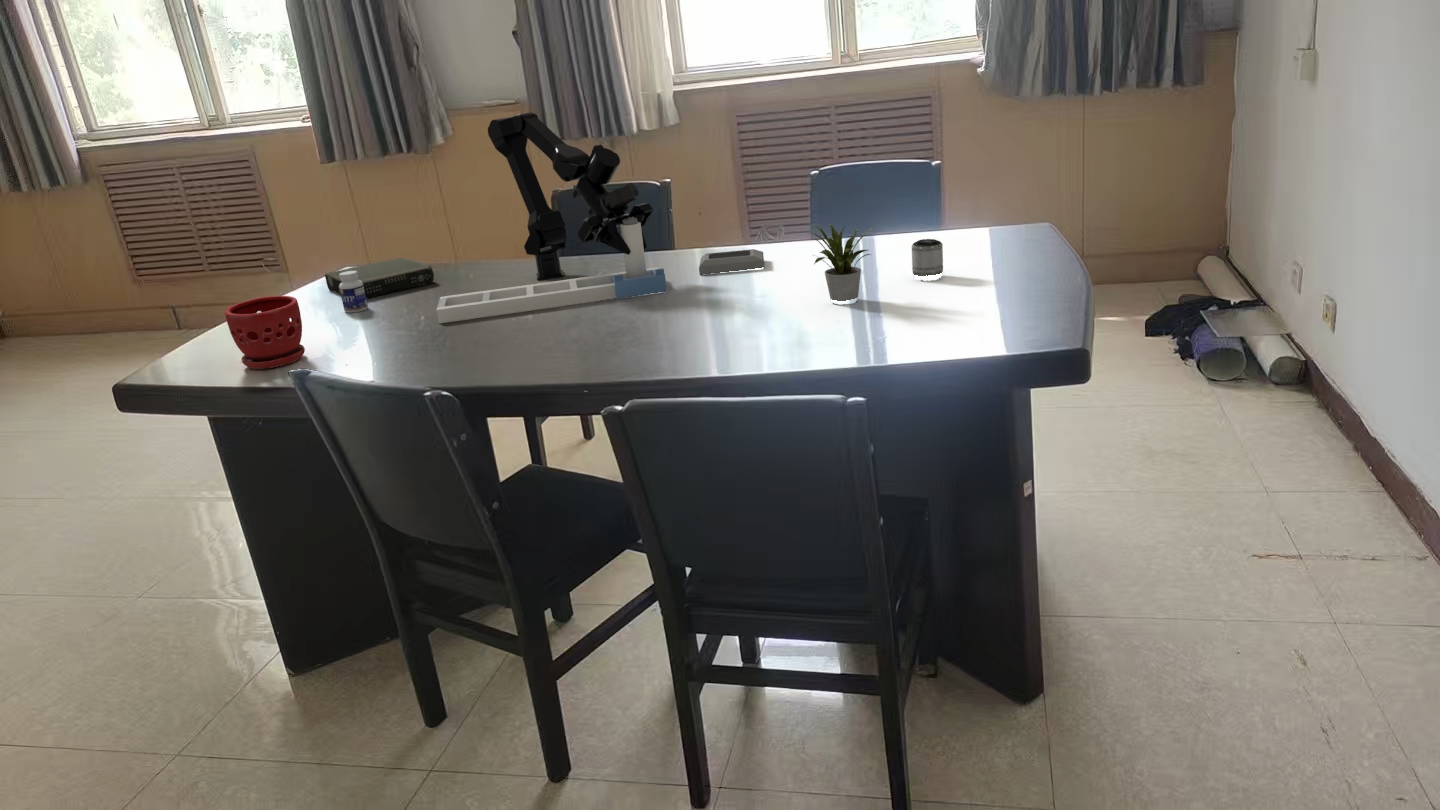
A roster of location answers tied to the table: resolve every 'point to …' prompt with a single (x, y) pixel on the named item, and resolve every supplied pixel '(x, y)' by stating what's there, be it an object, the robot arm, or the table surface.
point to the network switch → (386, 276)
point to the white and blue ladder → (548, 295)
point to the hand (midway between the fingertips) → (637, 250)
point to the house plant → (841, 266)
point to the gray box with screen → (731, 261)
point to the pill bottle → (352, 292)
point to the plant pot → (267, 331)
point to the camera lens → (927, 257)
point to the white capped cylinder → (633, 248)
